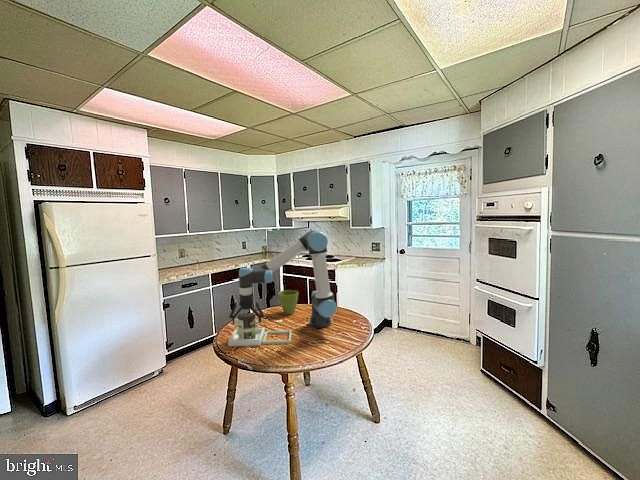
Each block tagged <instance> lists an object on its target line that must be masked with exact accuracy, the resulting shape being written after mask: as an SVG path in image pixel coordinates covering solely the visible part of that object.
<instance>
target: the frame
mask: <svg viewBox="0 0 640 480" xmlns="http://www.w3.org/2000/svg"><path fill="white" fill-rule="evenodd" d="M292 332H293V331H292V330H266V331H265V334H264V336H263V339H262V342H261V345H275V344H277V345H279V344H282V345H283V344H291V340H292ZM271 334H272V335H275V334H277V335H278V334H279V335H280V334H281V335H282V334H289V335H288V339H283V340H266V339H267V337H268V335H271Z"/></svg>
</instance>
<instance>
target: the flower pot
mask: <svg viewBox="0 0 640 480" xmlns="http://www.w3.org/2000/svg"><path fill="white" fill-rule="evenodd" d="M278 297H279V302H280V305H281V308H282V312H283V314H285V315H288V314H289V315H293V314H295V312H296V308H297V304H298V300H299V291H298V290H295V289H293V290H291V289H287V290H281V291H279V292H278Z"/></svg>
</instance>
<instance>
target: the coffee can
mask: <svg viewBox="0 0 640 480" xmlns="http://www.w3.org/2000/svg"><path fill="white" fill-rule="evenodd" d="M255 328H256V314H255V313H254V312H250V313H249V312H245V313H241V314H237V329H238V336H239V339H256V330H255ZM239 339H238V340H239Z"/></svg>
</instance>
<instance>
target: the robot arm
mask: <svg viewBox="0 0 640 480" xmlns="http://www.w3.org/2000/svg"><path fill="white" fill-rule="evenodd" d="M328 243H329V241H328V237H327V235H326V234H325V233H324V232H322V231H320V230H309V231H308V232H306V233H305V234H303V235H302V236H301V237H299V238H298V239H297V241H296V242H295V243H293V244H291V246H289V247H287V248H286V249H285V250H283V251H282V252H280V253H278V254H277V255H276V256H274V257H272V258H271V259H270V260H268V261H267V262H265V263H264V264H262V265H260V266H257V268H256V269H255V270H253V269H252V267H241V268H239V270H238V281H239V282H238V283H239V284H238V285H239V290H238V291H239V301H234V304H233V307H232V310H231V312H230V314H229V315H228V318H229V319H232V321H231V322H232V325H233V326H234V331H235V330H236V329H238V315H239V313H240V312H241V311H242V310H243V311H244V310H249V311H252V313H253V314H255V317H257V318H256V319H257V321H256V323H257V326H256V328H258V329H259V328H261V327H260V324H261V323H262V318H263V317H265V313H264V312H263V310H262V308H261V306H260V304H259V301H258V300H256V301H254V298H253V297H254V296H253V295H254V294H253V292H254V291H253V284H269V283H273V279H274V278H273V273H275V271H276V270H277V271H278V269H280V268H281V267H283V266H284V265H287V263H288V262H290V261H292V260H293V259H295V258H296V257H298V256H299V255H300V254H302V253H304V252H307V251H308V254H309V256H311V260H312V268H313V274H314V282H315V289H316V290H313V291H312V292H311V315H310V316H309V317H310V318H309V321H308V323H309V326H310V327H313V328H318V329H319V328H320V329H324V327H325V328H328V326H329V327H331V326H332V324H331V323H332V316H334V315H335V314H336V313H337V309H338V306H337V303H336V301H335V298H334V293H333V292H332V291H331V285H330V279H329V271H328V264H327V256H326V254H327V253H328V248H327V247H328ZM238 306H240V307H239V308H238V310H237V311H235V310H236V308H237V307H238ZM255 306H256V308H255ZM234 313H235V314H234Z"/></svg>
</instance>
